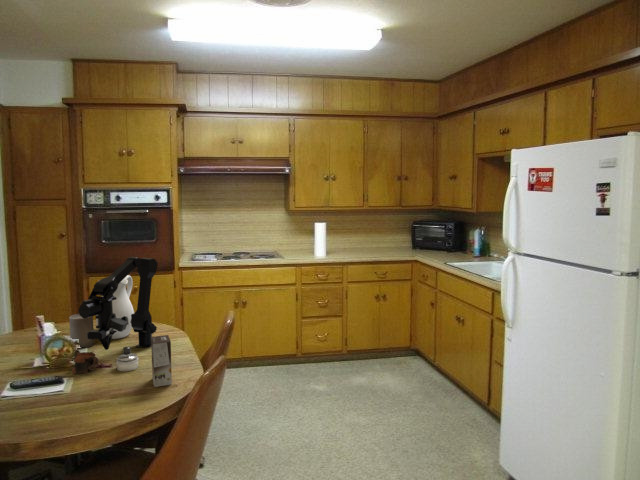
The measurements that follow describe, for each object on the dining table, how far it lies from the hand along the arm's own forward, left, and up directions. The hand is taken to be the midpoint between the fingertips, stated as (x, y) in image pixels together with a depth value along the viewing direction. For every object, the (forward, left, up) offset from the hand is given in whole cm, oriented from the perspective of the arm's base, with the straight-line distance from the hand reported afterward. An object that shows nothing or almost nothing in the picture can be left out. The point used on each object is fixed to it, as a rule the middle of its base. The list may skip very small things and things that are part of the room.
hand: (106, 349), depth 201 cm
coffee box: (+19, +31, -5) cm, 37 cm away
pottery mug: (+11, -3, -5) cm, 12 cm away
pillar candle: (-17, -21, -5) cm, 28 cm away
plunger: (+7, +12, -1) cm, 14 cm away
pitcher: (-36, -13, -5) cm, 39 cm away
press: (+6, +12, -5) cm, 14 cm away
